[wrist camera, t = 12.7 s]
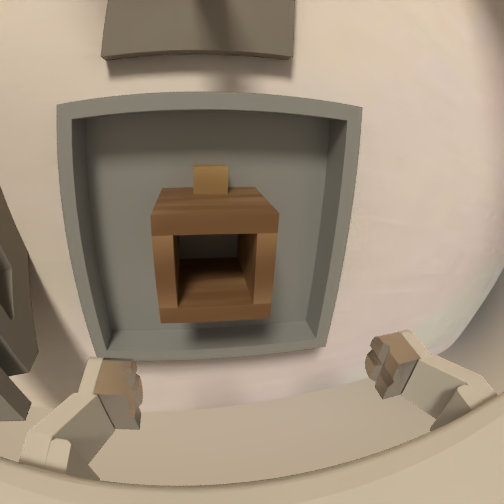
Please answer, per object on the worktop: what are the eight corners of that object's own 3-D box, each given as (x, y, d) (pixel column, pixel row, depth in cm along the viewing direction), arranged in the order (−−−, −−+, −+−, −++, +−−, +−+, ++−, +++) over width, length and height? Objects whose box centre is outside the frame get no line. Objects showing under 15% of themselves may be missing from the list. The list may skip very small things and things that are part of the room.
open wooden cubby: (161, 164, 18) (148, 182, 13) (256, 164, 19) (281, 182, 14) (166, 272, 21) (160, 323, 16) (250, 269, 22) (269, 318, 17)
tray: (339, 107, 19) (362, 107, 16) (311, 323, 27) (325, 346, 24) (76, 106, 16) (56, 104, 13) (105, 333, 23) (97, 359, 20)
